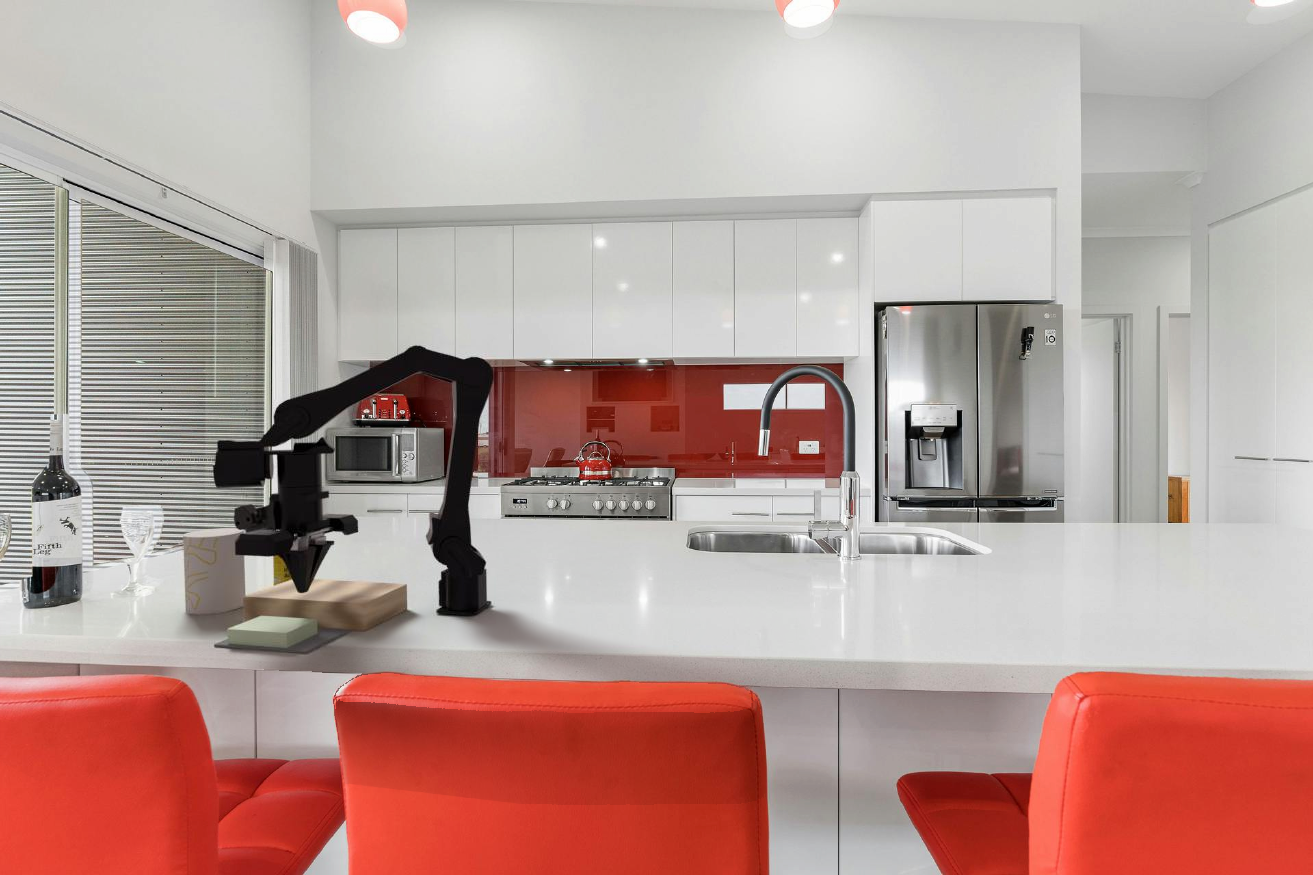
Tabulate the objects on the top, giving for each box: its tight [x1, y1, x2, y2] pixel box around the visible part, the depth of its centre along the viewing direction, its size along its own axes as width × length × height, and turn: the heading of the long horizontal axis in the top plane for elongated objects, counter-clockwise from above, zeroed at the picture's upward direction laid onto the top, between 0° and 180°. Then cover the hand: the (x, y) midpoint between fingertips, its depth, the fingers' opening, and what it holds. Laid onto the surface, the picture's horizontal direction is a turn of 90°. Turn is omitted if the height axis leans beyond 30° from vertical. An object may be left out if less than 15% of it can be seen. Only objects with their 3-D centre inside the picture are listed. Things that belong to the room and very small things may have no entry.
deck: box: [242, 578, 408, 632], centre depth 106 cm, size 20×11×4 cm, turn 79°
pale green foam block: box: [226, 616, 318, 648], centre depth 95 cm, size 9×6×2 cm, turn 79°
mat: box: [213, 627, 351, 654], centre depth 96 cm, size 14×9×1 cm, turn 79°
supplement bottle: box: [272, 534, 295, 586], centre depth 122 cm, size 5×5×10 cm
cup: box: [182, 527, 246, 615], centre depth 111 cm, size 8×8×12 cm
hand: (302, 592), depth 101 cm, fingers closed
